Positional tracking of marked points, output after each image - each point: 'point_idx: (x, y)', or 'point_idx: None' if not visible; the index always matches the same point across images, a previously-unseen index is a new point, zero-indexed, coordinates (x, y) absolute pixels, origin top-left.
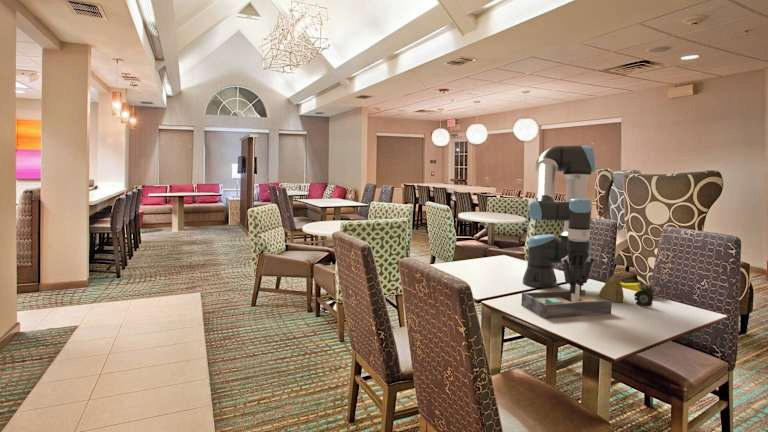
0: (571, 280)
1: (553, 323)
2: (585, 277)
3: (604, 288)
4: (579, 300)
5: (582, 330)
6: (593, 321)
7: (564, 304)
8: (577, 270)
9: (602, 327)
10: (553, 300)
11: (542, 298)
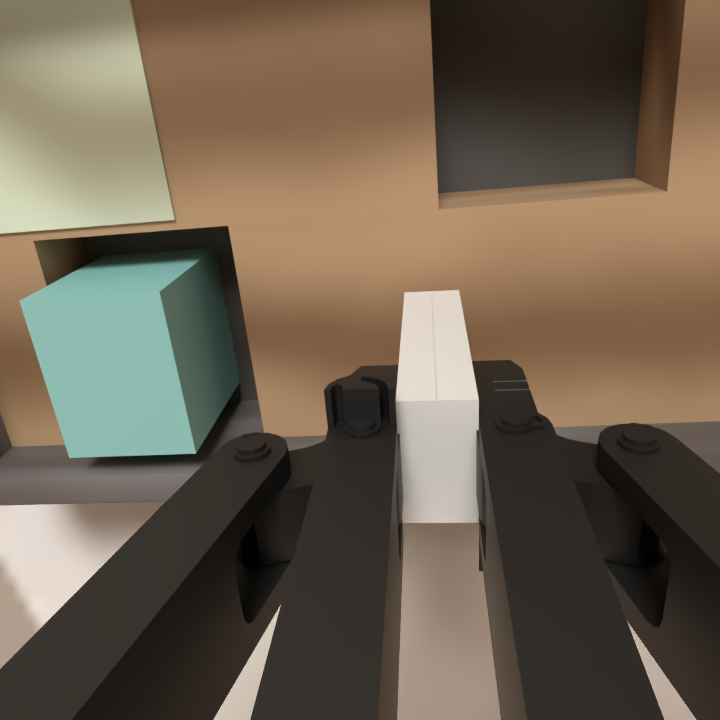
0: (276, 596)
1: (82, 535)
2: (656, 639)
3: None
4: (668, 91)
5: None
6: (444, 546)
7: None
8: (517, 699)
9: (424, 653)
10: (96, 394)
11: (98, 18)
